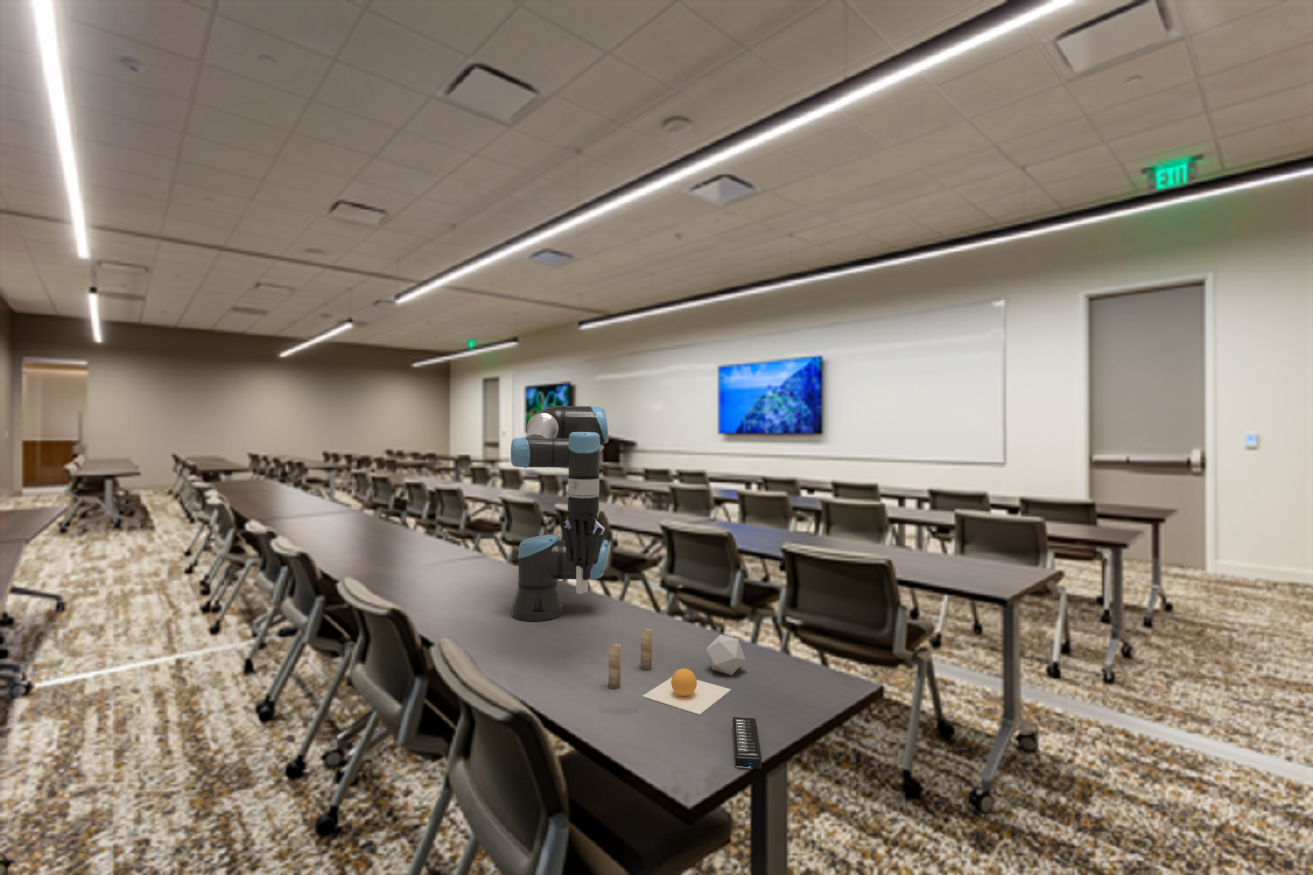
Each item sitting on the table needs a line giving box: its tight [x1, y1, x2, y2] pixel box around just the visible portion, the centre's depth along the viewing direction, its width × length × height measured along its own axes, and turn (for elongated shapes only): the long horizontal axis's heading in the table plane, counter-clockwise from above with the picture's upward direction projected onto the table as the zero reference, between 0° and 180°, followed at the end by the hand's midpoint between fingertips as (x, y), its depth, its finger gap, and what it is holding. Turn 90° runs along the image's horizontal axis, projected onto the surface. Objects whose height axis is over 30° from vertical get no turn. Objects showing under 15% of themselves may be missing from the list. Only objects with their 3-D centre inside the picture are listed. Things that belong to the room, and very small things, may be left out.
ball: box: [671, 668, 698, 696], centre depth 130 cm, size 6×6×6 cm
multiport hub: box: [731, 716, 762, 770], centre depth 109 cm, size 4×14×2 cm, turn 175°
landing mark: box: [641, 676, 732, 716], centre depth 130 cm, size 14×14×1 cm
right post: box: [640, 628, 653, 671], centre depth 144 cm, size 3×3×9 cm
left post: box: [608, 643, 622, 690], centre depth 133 cm, size 3×3×9 cm
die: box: [705, 634, 747, 676], centre depth 143 cm, size 8×9×10 cm
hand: (582, 592), depth 148 cm, fingers closed
